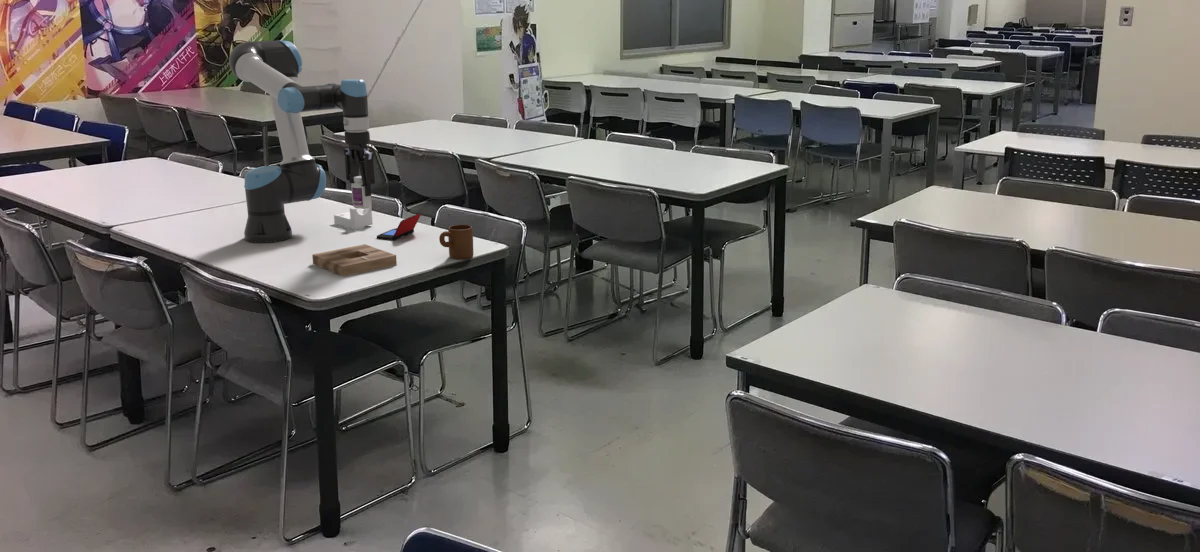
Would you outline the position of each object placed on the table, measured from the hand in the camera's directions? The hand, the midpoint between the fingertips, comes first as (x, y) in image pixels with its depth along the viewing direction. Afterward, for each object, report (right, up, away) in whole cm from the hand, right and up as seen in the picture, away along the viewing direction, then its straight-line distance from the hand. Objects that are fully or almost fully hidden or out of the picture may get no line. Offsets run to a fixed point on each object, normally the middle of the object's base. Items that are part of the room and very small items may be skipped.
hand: (362, 204), depth 303 cm
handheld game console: (+7, -9, +23) cm, 26 cm away
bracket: (-12, -5, +38) cm, 41 cm away
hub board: (0, -19, -11) cm, 22 cm away
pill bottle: (0, -1, 0) cm, 1 cm away
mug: (+30, -17, -3) cm, 35 cm away
